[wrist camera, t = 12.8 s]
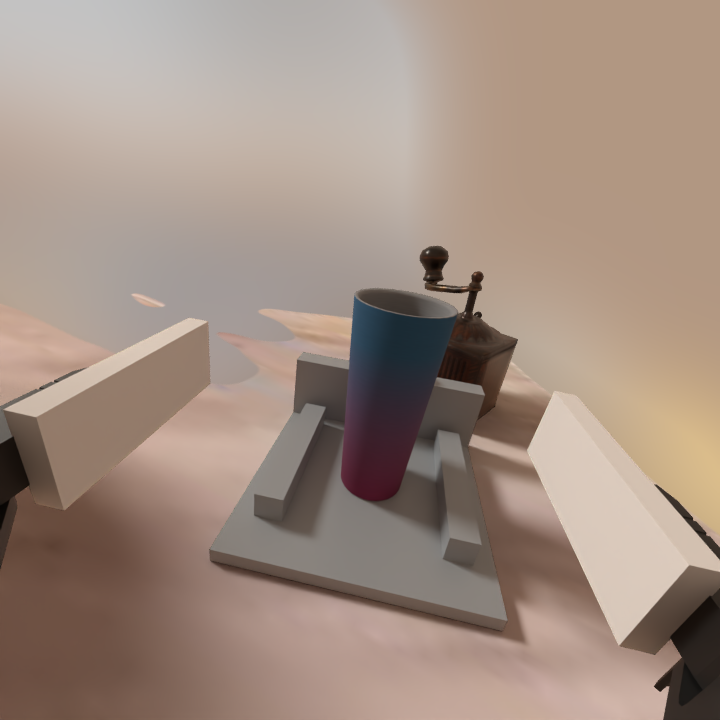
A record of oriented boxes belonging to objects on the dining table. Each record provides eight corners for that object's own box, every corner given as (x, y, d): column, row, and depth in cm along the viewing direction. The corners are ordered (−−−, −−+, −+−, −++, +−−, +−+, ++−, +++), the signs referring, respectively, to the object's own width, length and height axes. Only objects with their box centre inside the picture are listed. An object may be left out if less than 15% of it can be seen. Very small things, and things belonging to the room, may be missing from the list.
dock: (210, 560, 21) (203, 450, 18) (298, 409, 38) (304, 337, 34) (502, 631, 20) (557, 527, 16) (462, 443, 36) (485, 371, 33)
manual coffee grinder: (500, 403, 46) (549, 267, 39) (461, 433, 38) (513, 270, 31) (407, 360, 55) (432, 243, 48) (361, 377, 47) (382, 240, 40)
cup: (425, 479, 29) (474, 309, 23) (380, 527, 24) (427, 325, 18) (363, 441, 33) (391, 285, 27) (312, 476, 28) (332, 293, 22)
